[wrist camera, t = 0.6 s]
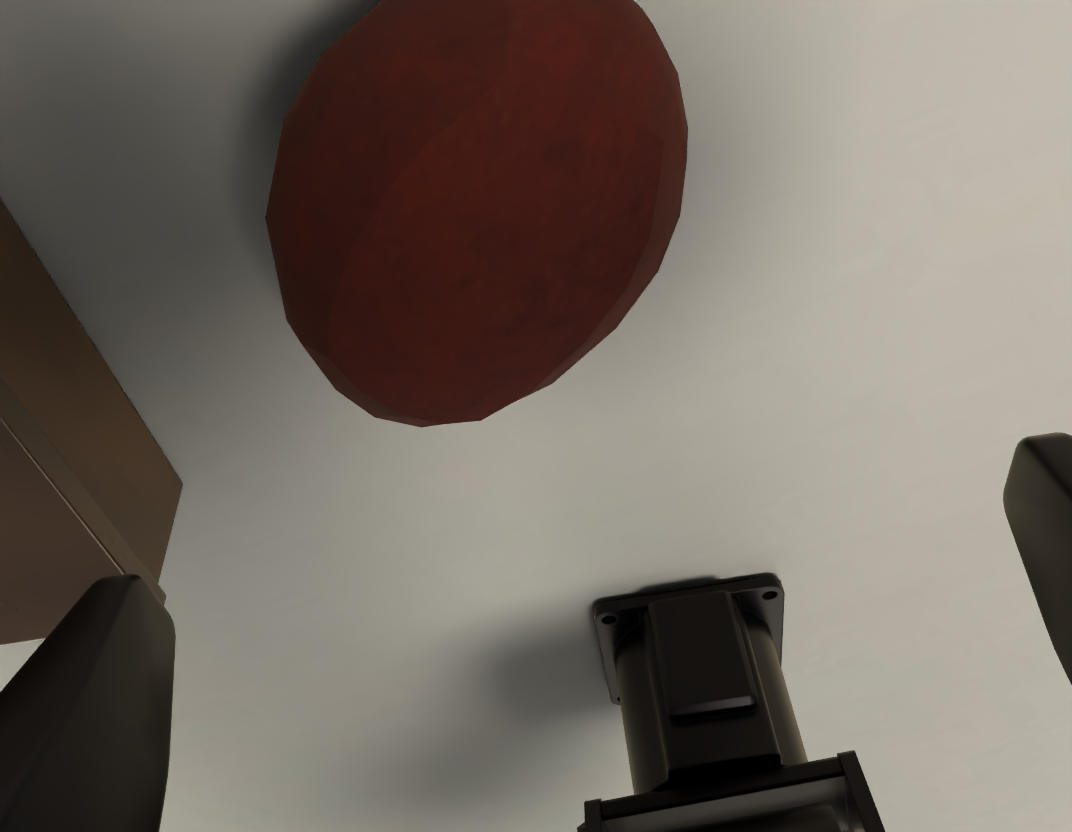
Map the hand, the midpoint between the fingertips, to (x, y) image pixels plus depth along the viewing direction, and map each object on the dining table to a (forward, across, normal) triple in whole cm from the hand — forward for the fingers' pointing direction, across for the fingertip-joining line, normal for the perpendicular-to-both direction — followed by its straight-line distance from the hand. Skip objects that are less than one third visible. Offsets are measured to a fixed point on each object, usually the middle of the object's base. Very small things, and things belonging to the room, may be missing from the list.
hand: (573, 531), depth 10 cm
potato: (+13, +1, +2) cm, 13 cm away
